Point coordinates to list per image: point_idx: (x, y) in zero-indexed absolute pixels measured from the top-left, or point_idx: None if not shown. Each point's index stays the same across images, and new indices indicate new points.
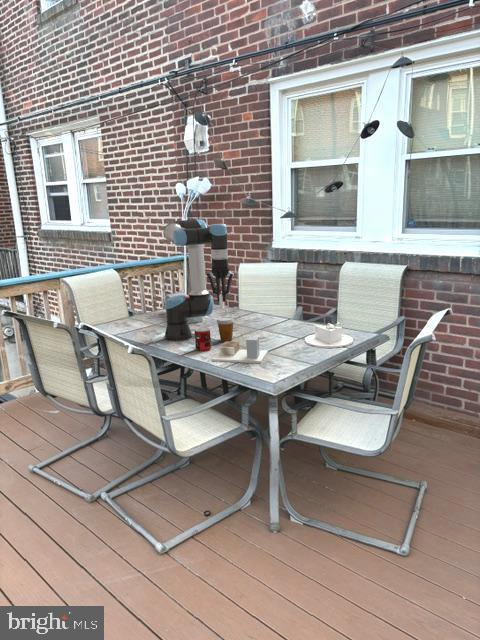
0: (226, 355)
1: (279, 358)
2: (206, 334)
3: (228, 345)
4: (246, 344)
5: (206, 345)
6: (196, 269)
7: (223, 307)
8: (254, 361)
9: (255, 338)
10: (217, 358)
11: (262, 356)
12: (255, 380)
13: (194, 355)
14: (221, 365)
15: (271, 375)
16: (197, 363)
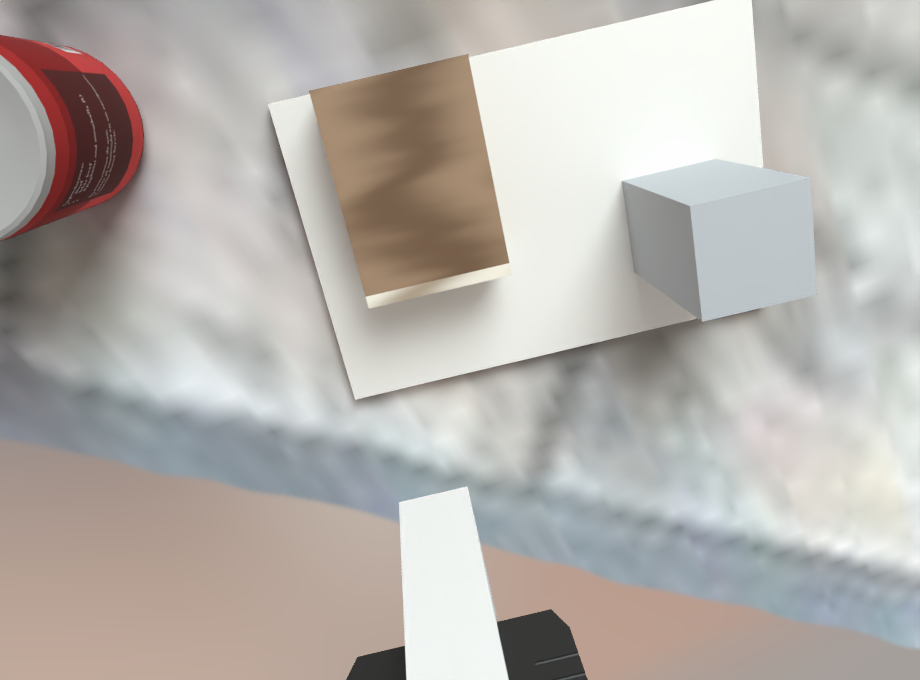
0: None
1: (883, 128)
2: (68, 187)
3: (421, 224)
4: (682, 306)
5: (118, 179)
6: None
7: (483, 558)
8: None
9: (786, 241)
10: (396, 372)
11: None
12: (818, 584)
13: (116, 324)
14: (486, 447)
15: (896, 482)
16: (281, 478)
